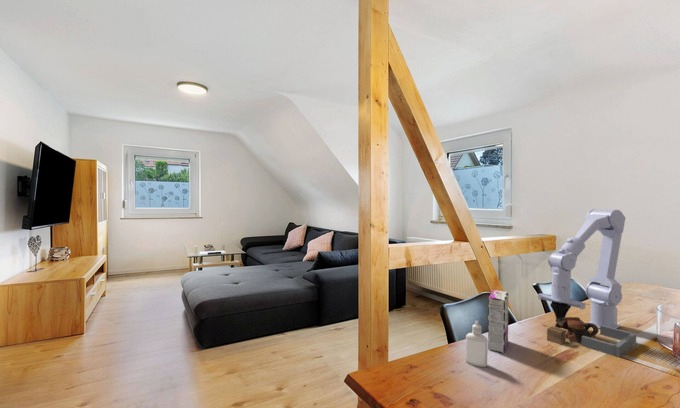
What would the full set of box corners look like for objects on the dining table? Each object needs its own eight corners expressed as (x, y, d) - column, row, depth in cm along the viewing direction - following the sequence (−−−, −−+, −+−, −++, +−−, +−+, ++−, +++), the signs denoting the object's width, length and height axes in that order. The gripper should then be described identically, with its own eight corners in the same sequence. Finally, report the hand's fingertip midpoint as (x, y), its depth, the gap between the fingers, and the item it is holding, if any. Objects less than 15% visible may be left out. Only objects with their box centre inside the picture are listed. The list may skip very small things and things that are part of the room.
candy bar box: (491, 337, 111) (492, 289, 111) (508, 341, 108) (509, 291, 108) (486, 349, 101) (487, 297, 101) (504, 354, 99) (505, 299, 99)
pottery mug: (560, 342, 108) (552, 317, 113) (560, 346, 115) (553, 322, 120) (604, 341, 103) (594, 314, 107) (601, 345, 110) (592, 319, 114)
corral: (601, 333, 116) (601, 325, 116) (636, 343, 108) (636, 333, 108) (581, 345, 106) (581, 336, 106) (618, 357, 98) (618, 347, 98)
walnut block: (552, 337, 112) (552, 326, 112) (565, 342, 109) (565, 330, 109) (547, 340, 109) (547, 328, 109) (560, 344, 106) (560, 332, 106)
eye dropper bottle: (479, 369, 89) (480, 325, 89) (462, 360, 94) (463, 319, 94) (489, 366, 91) (490, 323, 91) (473, 357, 96) (474, 316, 96)
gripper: (534, 283, 122) (533, 319, 122) (580, 292, 110) (579, 332, 110) (543, 281, 126) (542, 316, 126) (588, 289, 114) (587, 328, 114)
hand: (560, 323), depth 119 cm, fingers closed
